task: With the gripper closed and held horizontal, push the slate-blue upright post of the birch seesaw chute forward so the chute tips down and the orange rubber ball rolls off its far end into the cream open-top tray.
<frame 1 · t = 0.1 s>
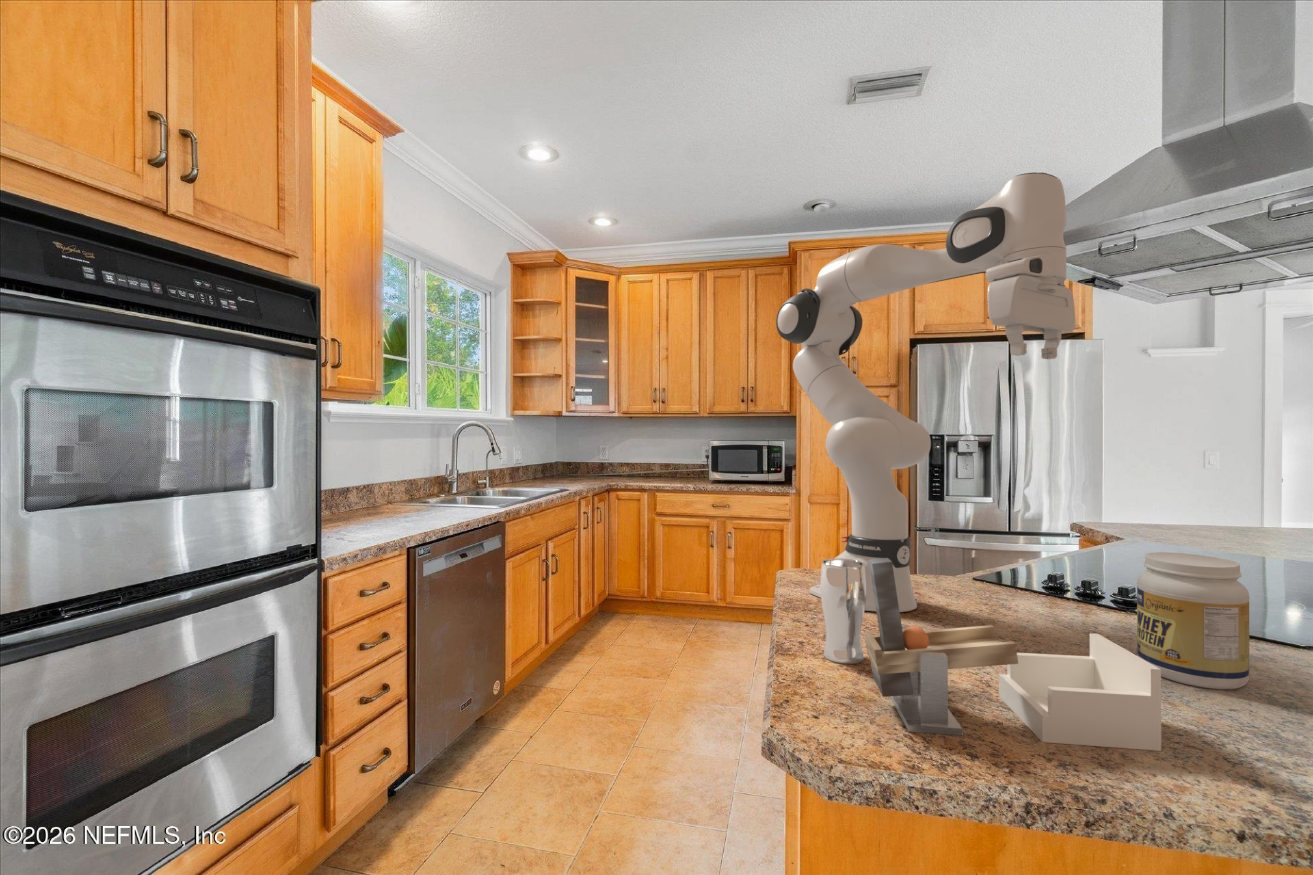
hand: (1034, 357, 97), 48 cm above the counter, tool pointing down, fingers open, 8 cm apart
cream open-top tray: (1072, 720, 72), on the counter
supplement tub: (1190, 675, 86), on the counter
fulcrum: (921, 710, 75), on the counter
lever: (932, 618, 74), point 12 cm above the counter, hinge at -8.0°, touching ball
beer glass: (843, 658, 93), on the counter
ball: (915, 639, 75), point 9 cm above the counter, tilted 15°, touching lever
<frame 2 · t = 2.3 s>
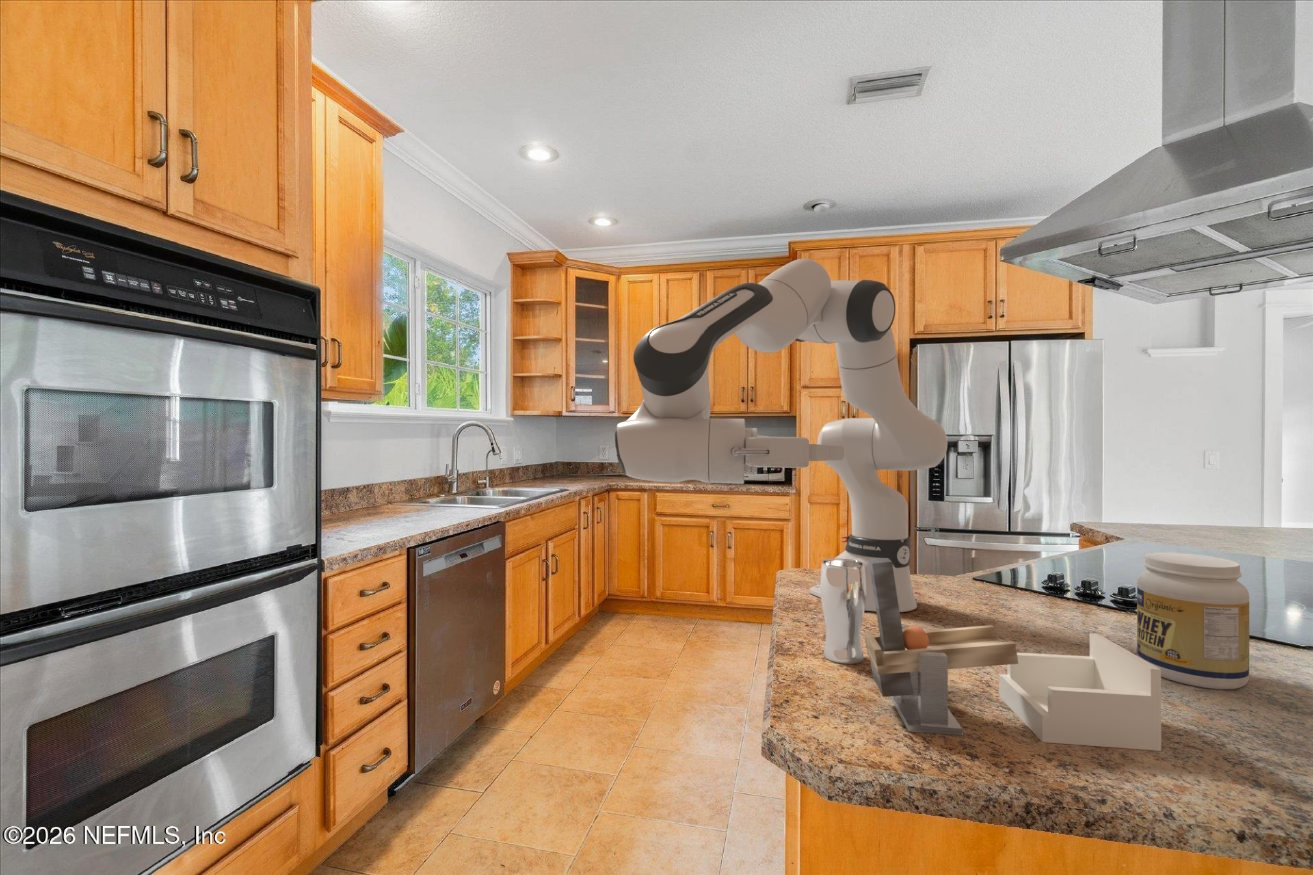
hand: (837, 452, 78), 33 cm above the counter, tool horizontal, fingers open, 8 cm apart
nothing on the counter moved.
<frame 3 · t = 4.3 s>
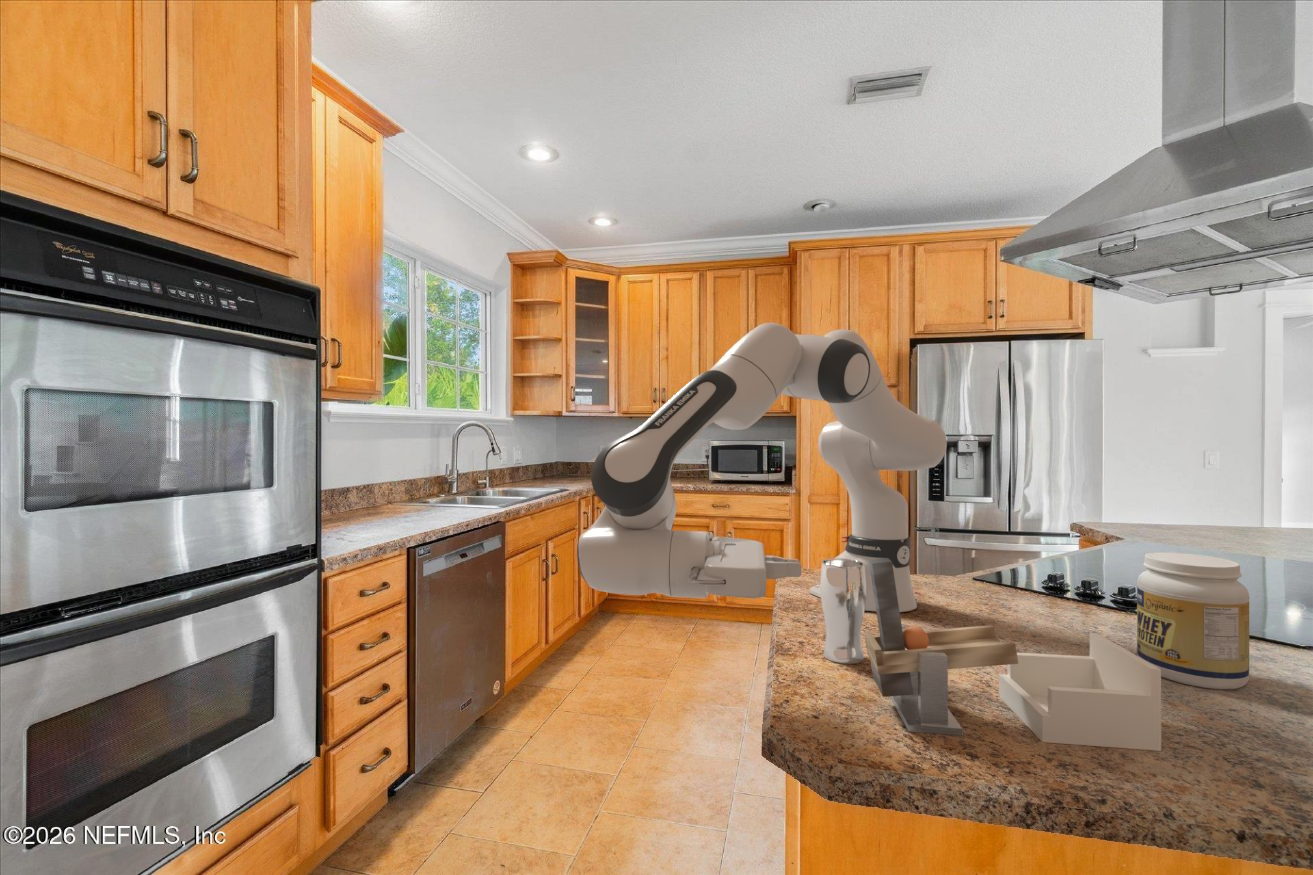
hand: (800, 568, 77), 18 cm above the counter, tool horizontal, fingers closed
nothing on the counter moved.
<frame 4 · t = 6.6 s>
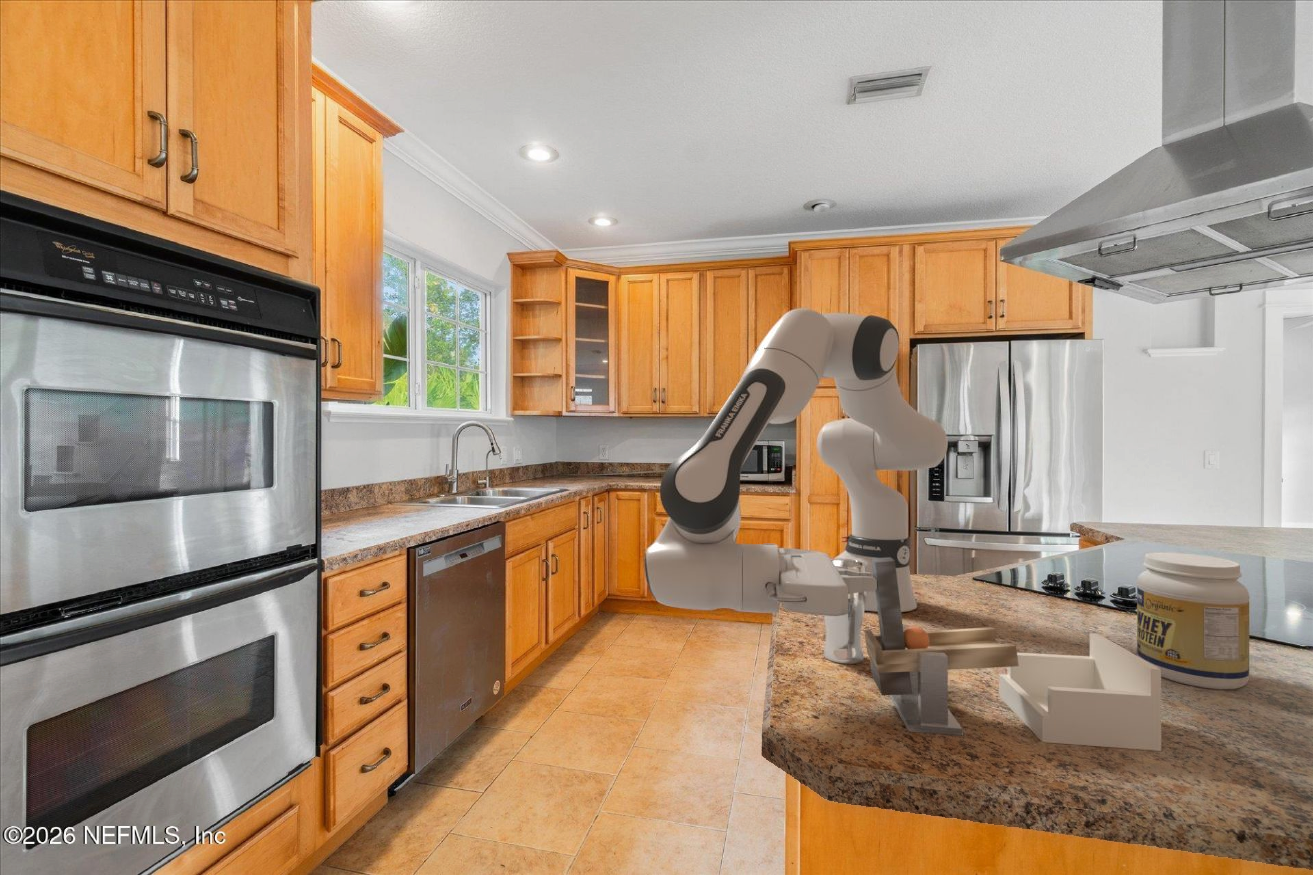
hand: (874, 581, 76), 16 cm above the counter, tool horizontal, fingers closed, pressing on lever
lever: (933, 619, 74), point 12 cm above the counter, hinge at -6.3°, touching ball, gripper
everything else where it was.
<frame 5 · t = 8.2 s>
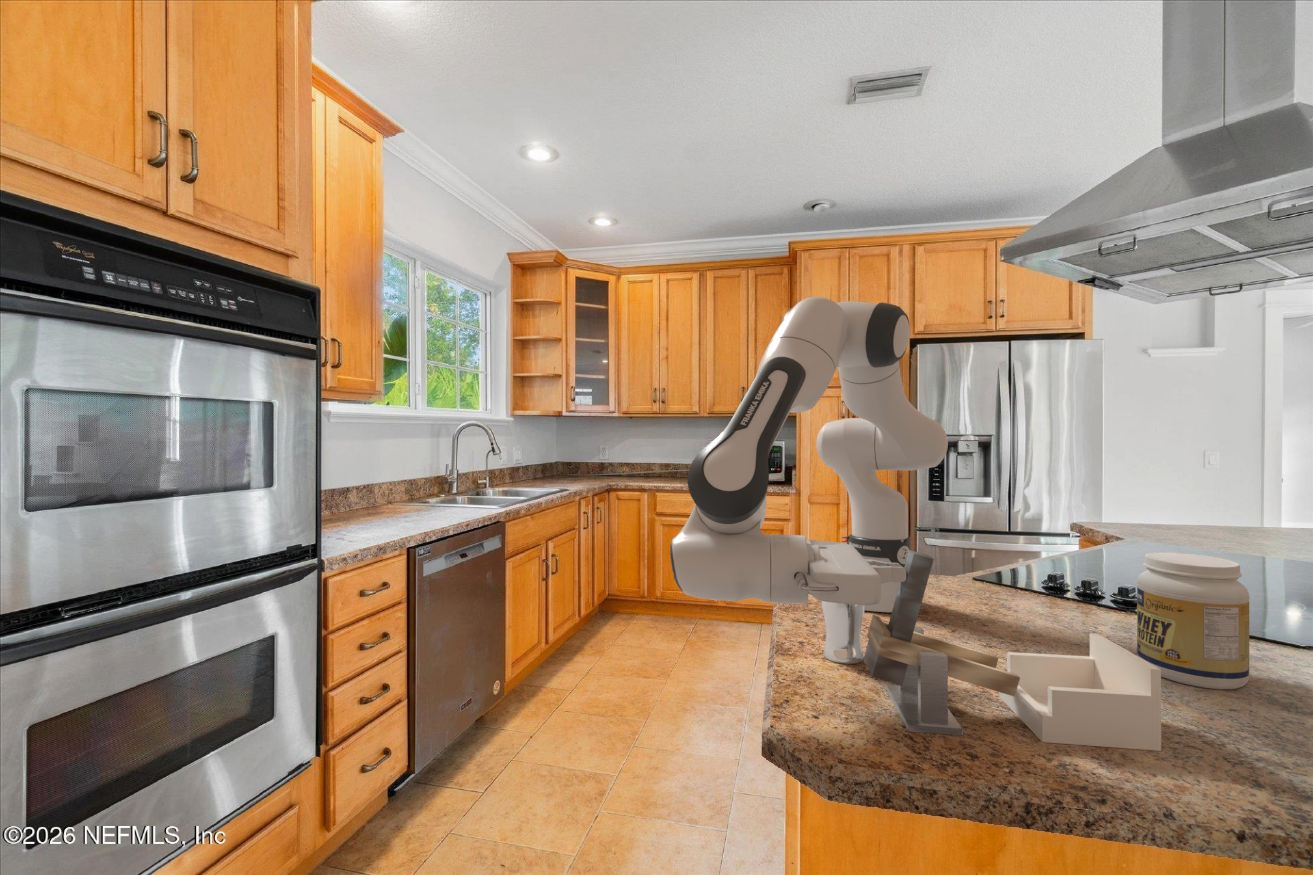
hand: (903, 572, 75), 18 cm above the counter, tool horizontal, fingers closed, pressing on lever
lever: (946, 626, 74), point 11 cm above the counter, hinge at 14.7°, touching gripper
ball: (1103, 703, 71), point 2 cm above the counter, tilted 70°, touching cream open-top tray
everything else where it was.
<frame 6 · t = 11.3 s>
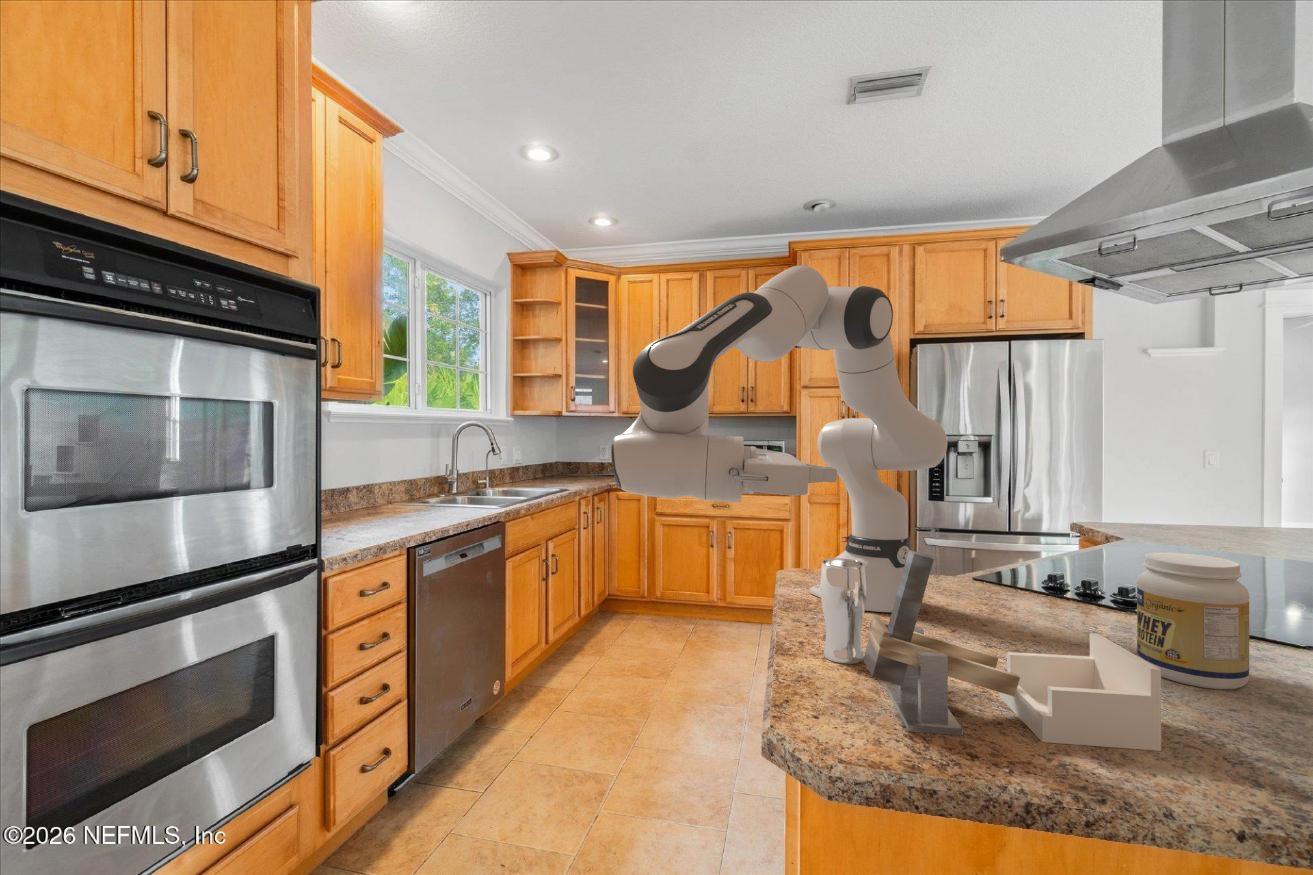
hand: (835, 474, 77), 30 cm above the counter, tool horizontal, fingers closed
lever: (946, 626, 74), point 11 cm above the counter, hinge at 14.8°
everything else where it was.
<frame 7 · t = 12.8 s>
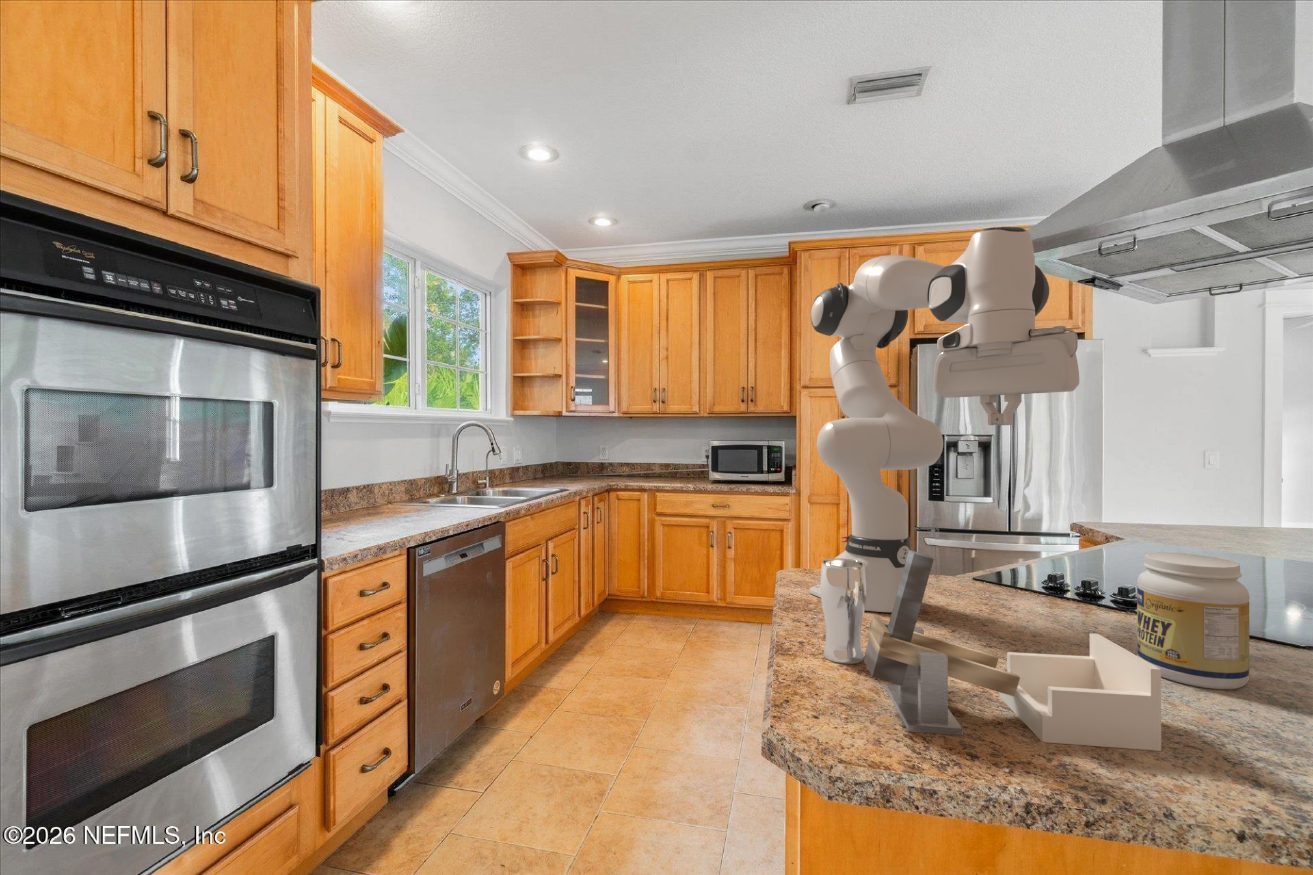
hand: (1000, 425, 89), 37 cm above the counter, tool pointing down, fingers closed
nothing on the counter moved.
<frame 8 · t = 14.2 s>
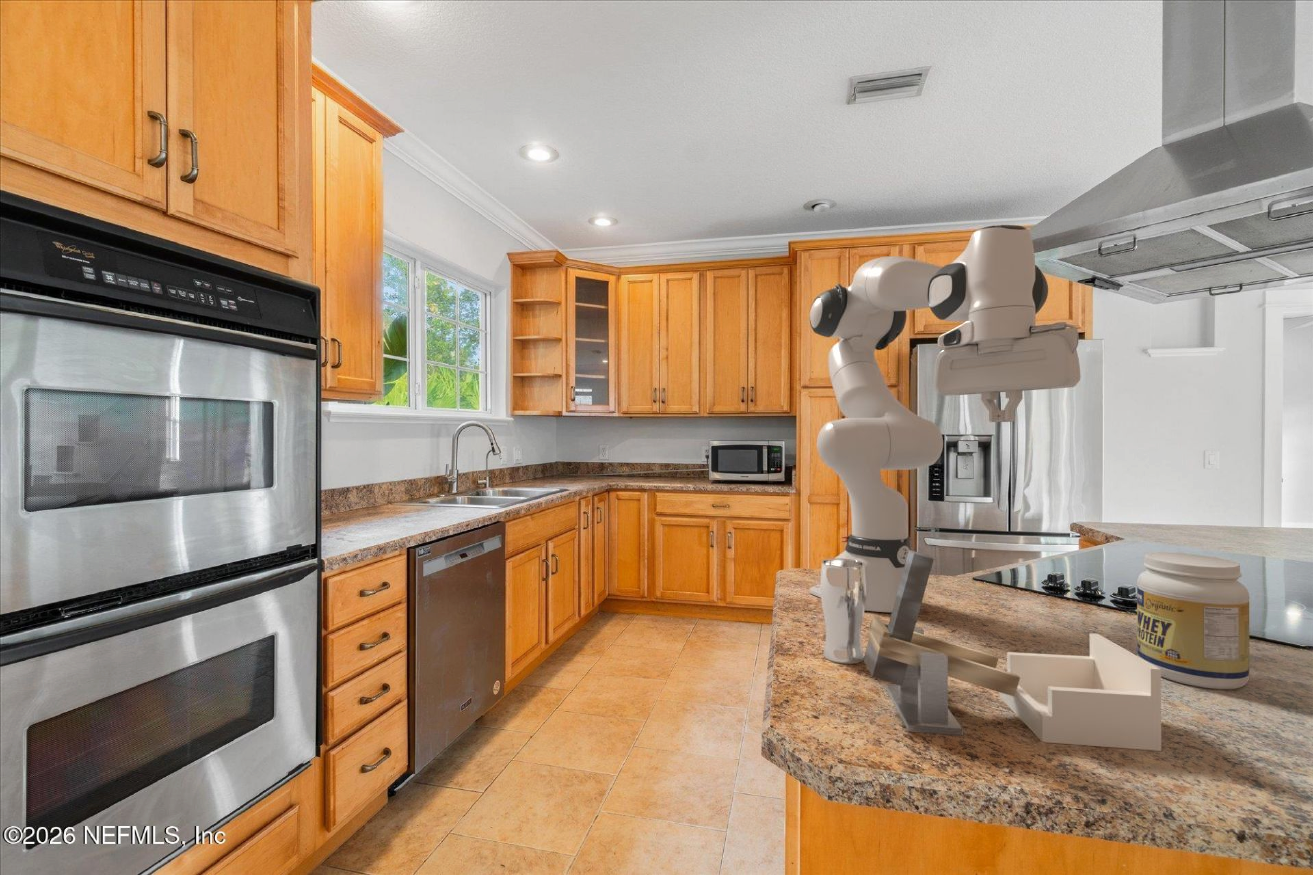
hand: (1001, 422, 90), 37 cm above the counter, tool pointing down, fingers closed
nothing on the counter moved.
at the end: ball 3.2 cm from the cream open-top tray (horizontally); ball point 2.4 cm above the counter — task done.
